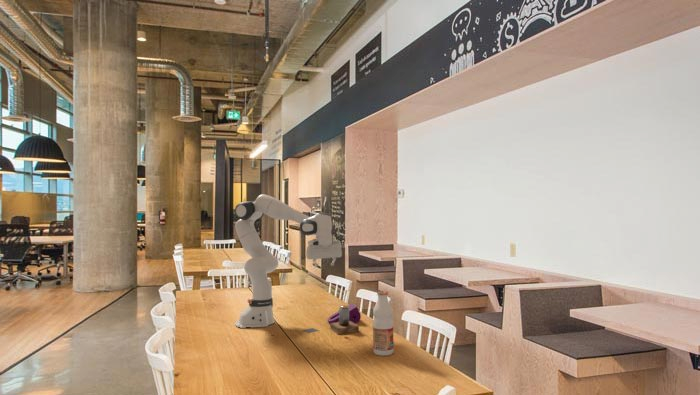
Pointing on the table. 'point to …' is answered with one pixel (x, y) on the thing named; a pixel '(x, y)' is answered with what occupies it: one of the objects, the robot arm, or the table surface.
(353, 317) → the mounting bracket
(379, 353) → the fruit juice
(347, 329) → the stand
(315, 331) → the gasket plate
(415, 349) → the table surface
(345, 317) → the grey can
